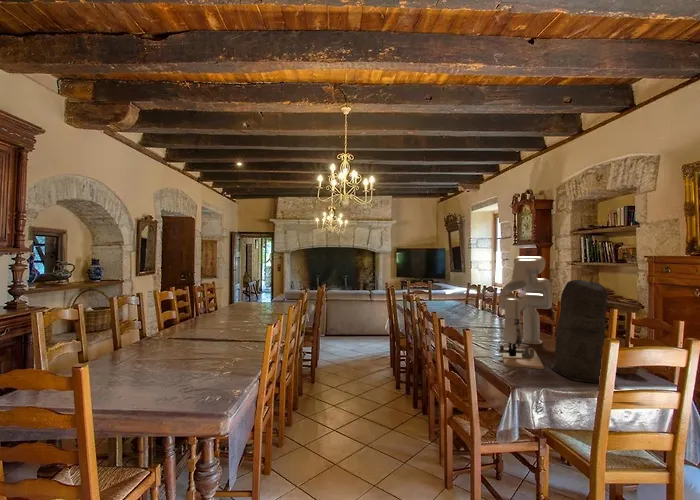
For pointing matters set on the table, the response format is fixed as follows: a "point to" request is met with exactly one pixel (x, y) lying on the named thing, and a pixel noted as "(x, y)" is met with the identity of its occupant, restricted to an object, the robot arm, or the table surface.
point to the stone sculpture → (581, 331)
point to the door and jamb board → (523, 359)
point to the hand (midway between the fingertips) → (512, 356)
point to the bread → (627, 370)
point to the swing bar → (508, 350)
